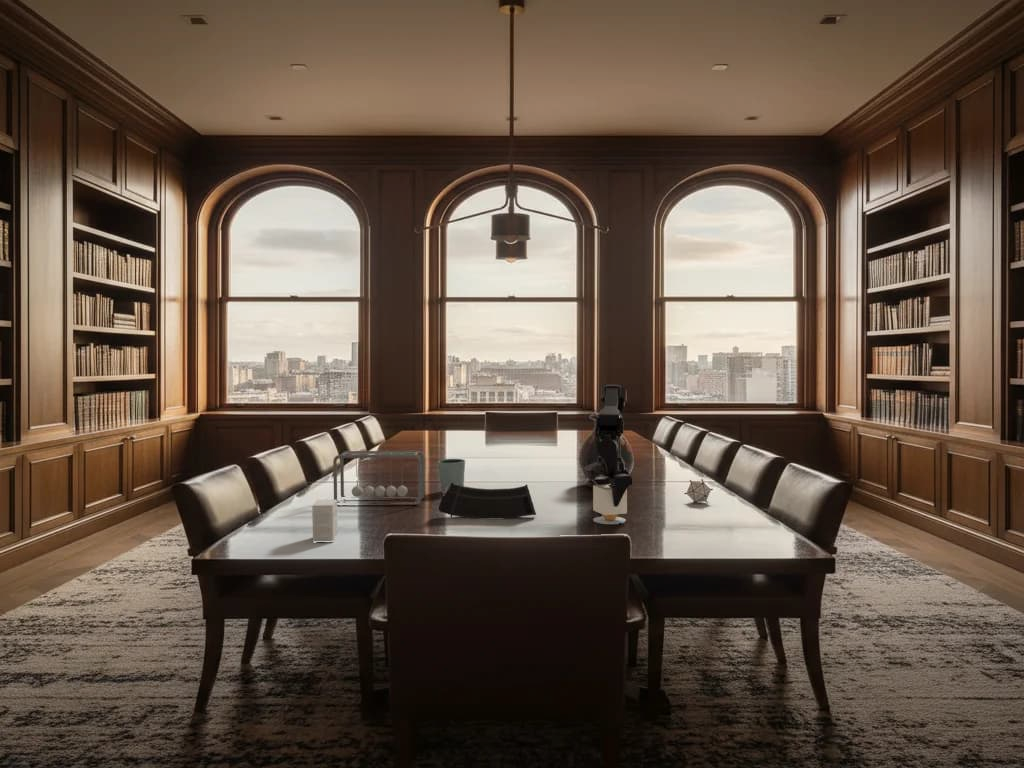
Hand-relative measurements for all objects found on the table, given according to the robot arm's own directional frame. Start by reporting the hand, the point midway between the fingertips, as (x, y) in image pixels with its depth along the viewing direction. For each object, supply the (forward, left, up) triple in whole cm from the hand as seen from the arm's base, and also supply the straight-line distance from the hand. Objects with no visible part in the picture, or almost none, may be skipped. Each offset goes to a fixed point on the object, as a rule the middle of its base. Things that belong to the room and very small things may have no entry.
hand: (609, 504), depth 216 cm
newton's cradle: (-54, -61, -5) cm, 81 cm away
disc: (0, 0, -5) cm, 5 cm away
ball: (0, 0, -3) cm, 3 cm away
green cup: (-63, -32, -5) cm, 71 cm away
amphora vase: (-51, +27, -5) cm, 58 cm away
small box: (-11, -84, -5) cm, 85 cm away
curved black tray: (-19, -33, -5) cm, 39 cm away
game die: (-11, +41, -5) cm, 43 cm away
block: (0, 0, -2) cm, 2 cm away
